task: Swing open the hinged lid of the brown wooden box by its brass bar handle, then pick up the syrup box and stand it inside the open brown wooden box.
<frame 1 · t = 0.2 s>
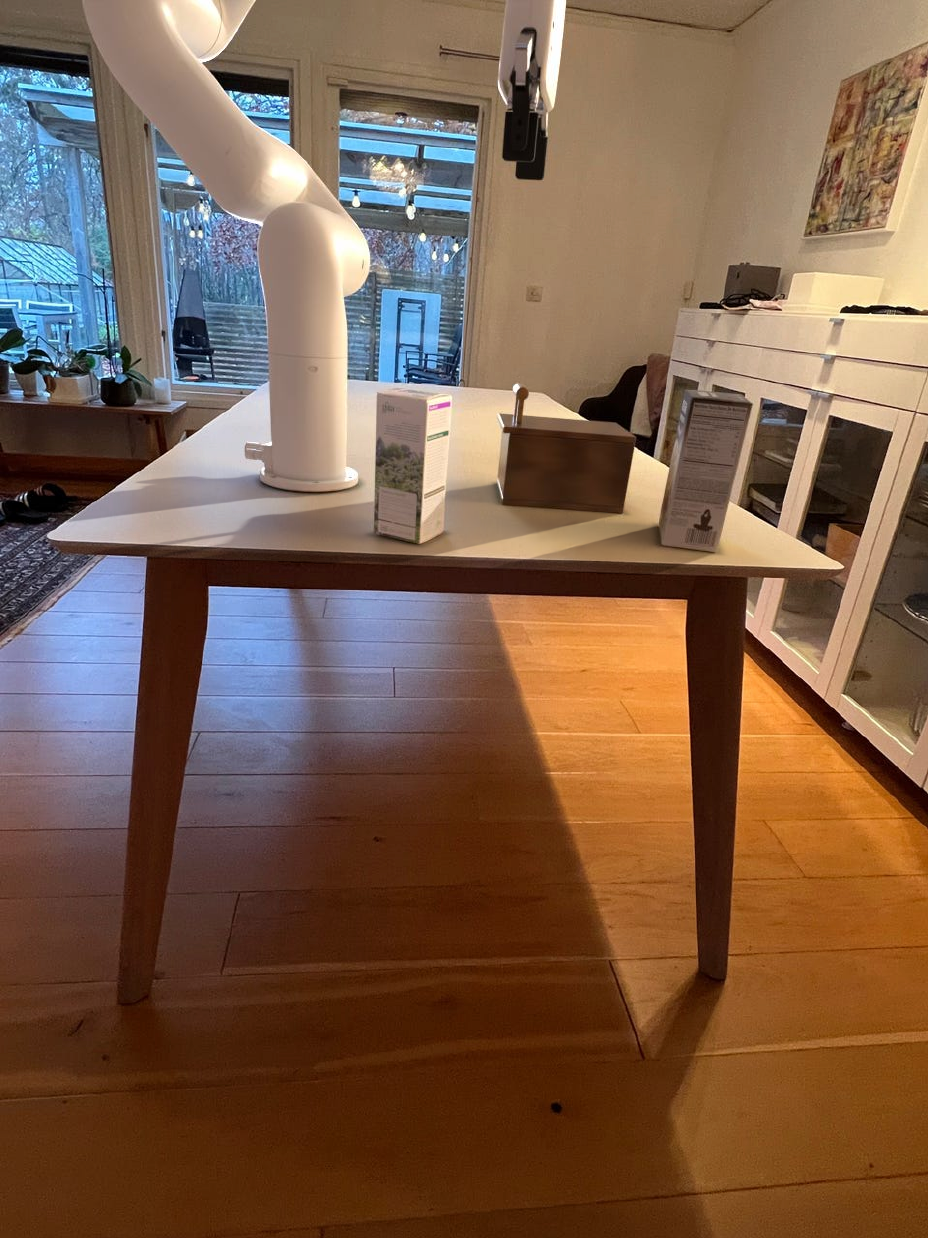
hand: (523, 170, 73), 36 cm above the table, tool pointing down, fingers open, 9 cm apart
lid: (565, 409, 89), point 11 cm above the table, hinge at 0.0°
coffee box: (685, 539, 81), on the table
syrup box: (408, 535, 74), on the table
brown wooden box: (556, 497, 94), on the table
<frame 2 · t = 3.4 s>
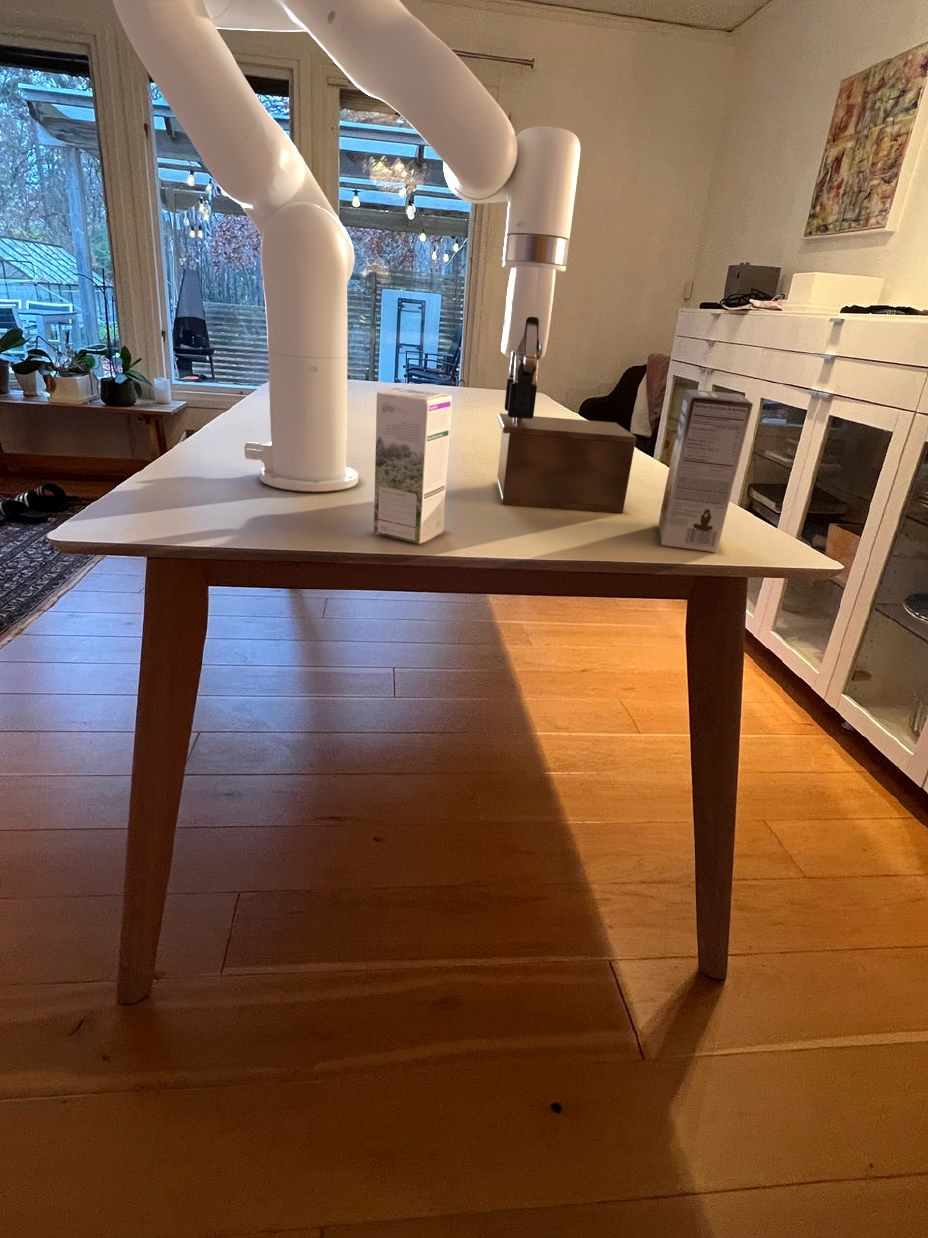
hand: (518, 412, 89), 11 cm above the table, tool pointing down, fingers closed on lid, 5 cm apart
lid: (565, 409, 89), point 11 cm above the table, hinge at 0.0°, touching gripper
everything else where it was.
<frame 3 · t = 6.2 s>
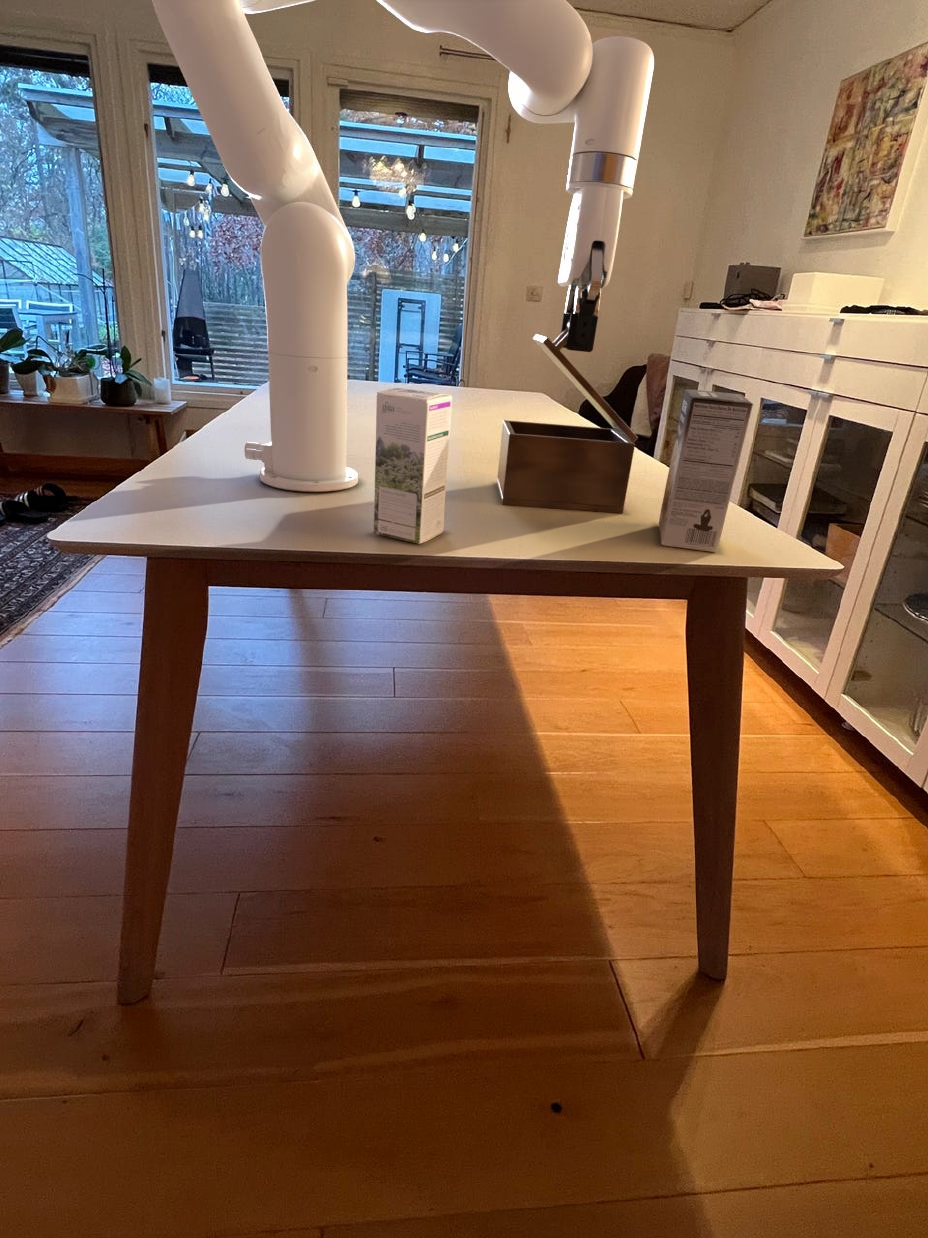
hand: (575, 347, 86), 19 cm above the table, tool pointing down, fingers closed on lid, 5 cm apart
lid: (596, 373, 87), point 16 cm above the table, hinge at 39.8°, touching gripper
everything else where it was.
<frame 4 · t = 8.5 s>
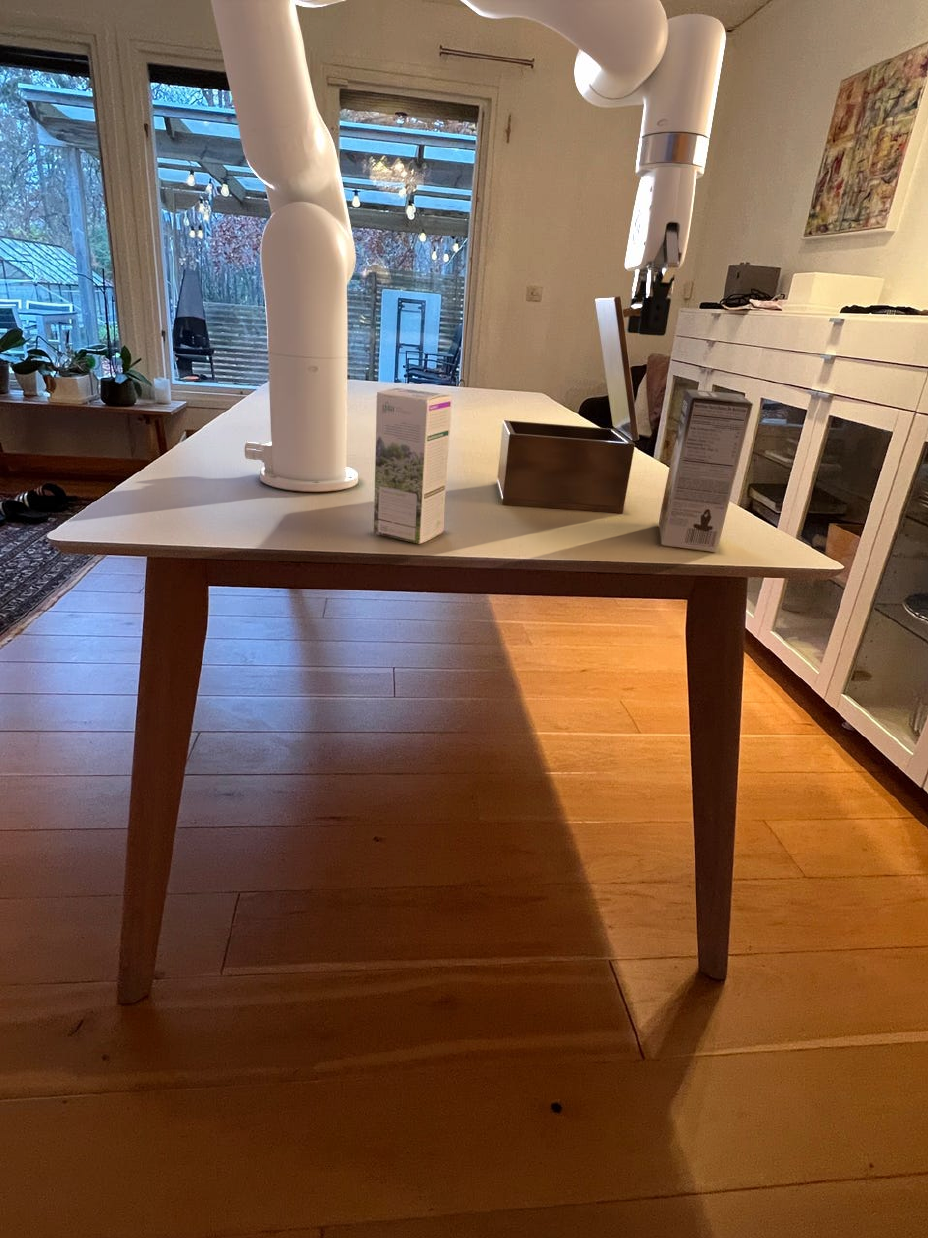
hand: (645, 332, 85), 21 cm above the table, tool pointing down, fingers closed on lid, 5 cm apart
lid: (633, 363, 87), point 18 cm above the table, hinge at 72.3°, touching gripper
everything else where it was.
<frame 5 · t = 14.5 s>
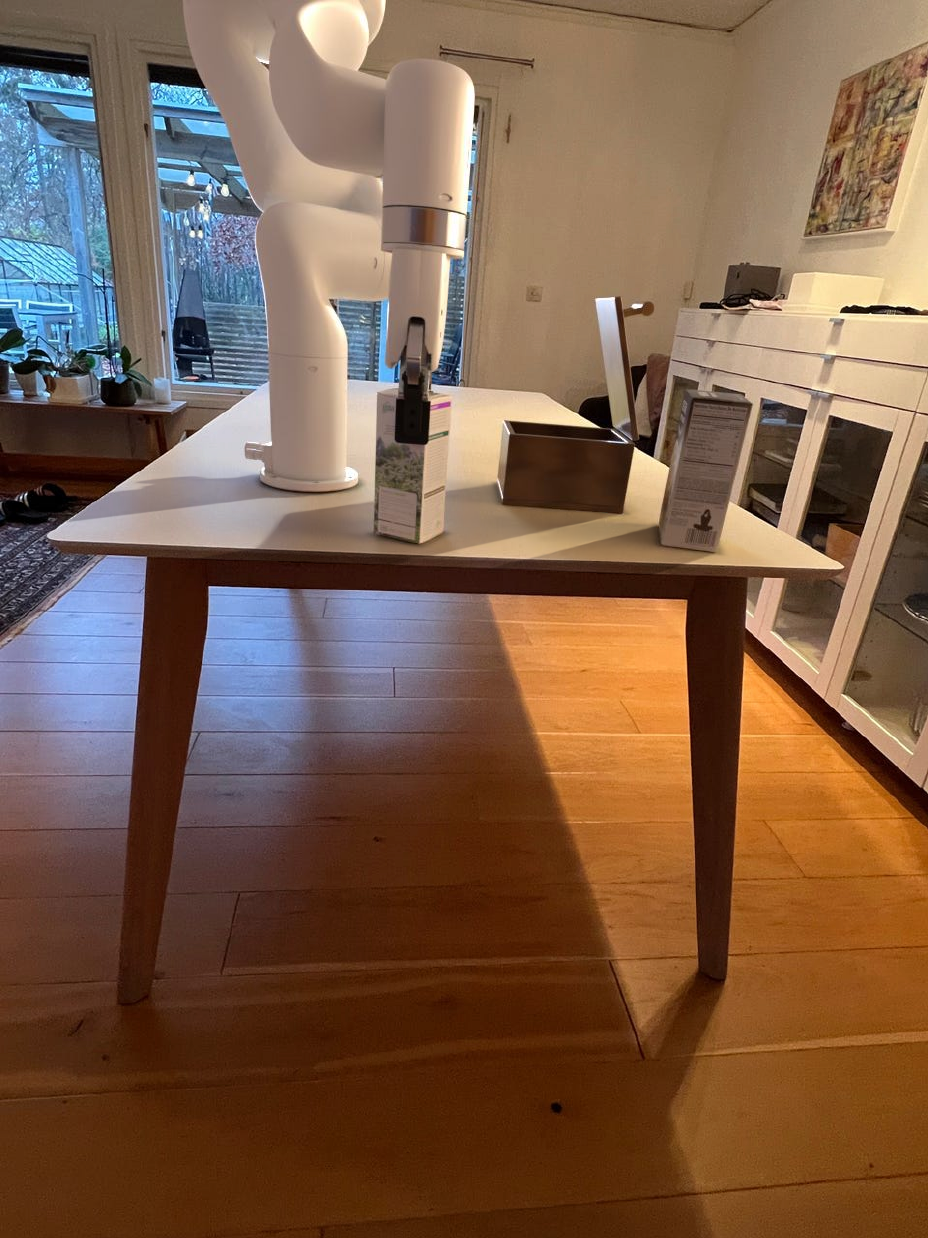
hand: (413, 434, 69), 10 cm above the table, tool pointing down, fingers closed on syrup box, 7 cm apart
lid: (634, 363, 87), point 18 cm above the table, hinge at 72.5°
syrup box: (408, 535, 74), on the table, touching gripper
everything else where it was.
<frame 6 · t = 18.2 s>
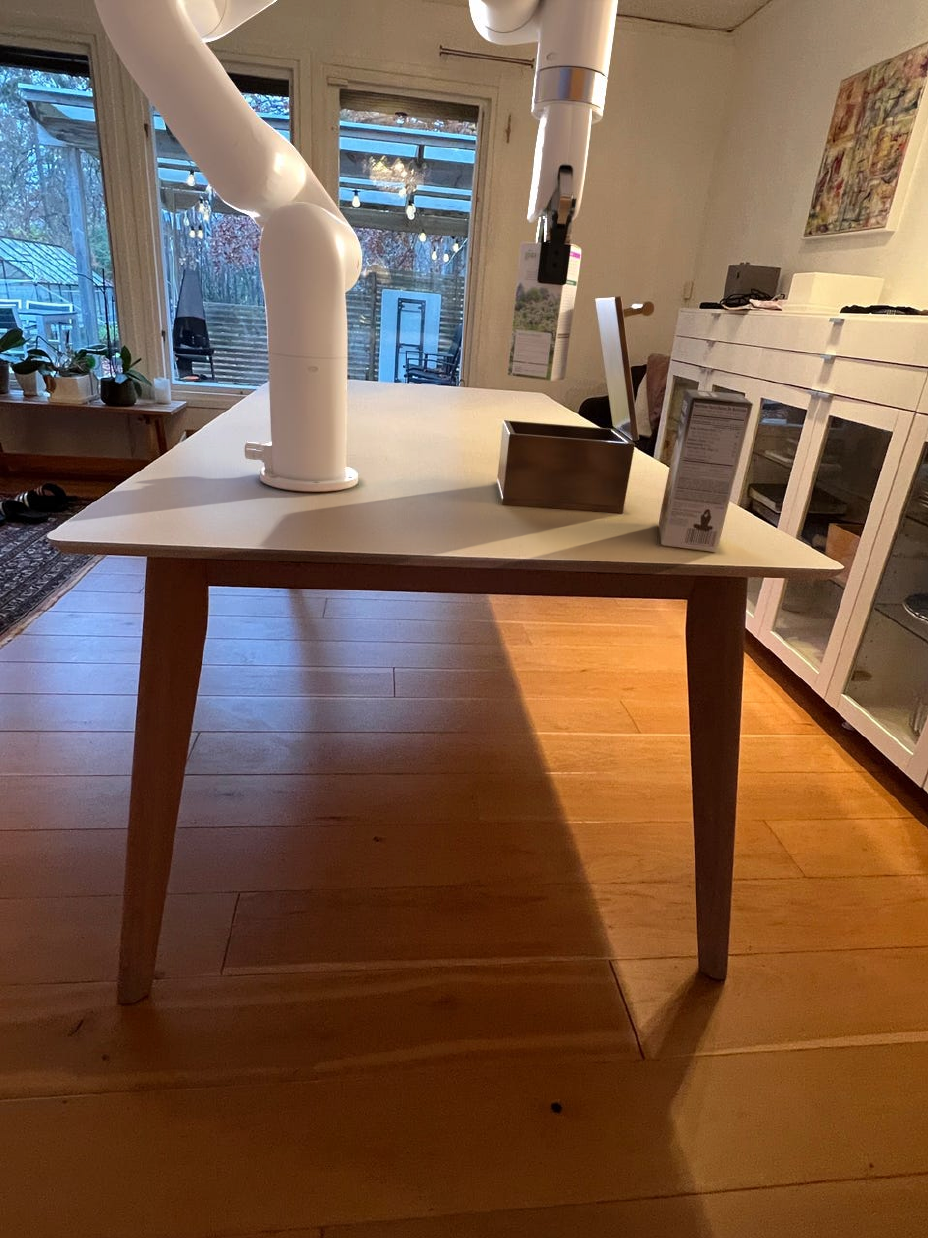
hand: (547, 284, 80), 26 cm above the table, tool pointing down, fingers closed on syrup box, 7 cm apart
syrup box: (536, 379, 84), point 15 cm above the table, touching gripper
everything else where it was.
when the fingers open (11 cm above the table, at t = 22.3 s): syrup box stays where it is, resting on brown wooden box.
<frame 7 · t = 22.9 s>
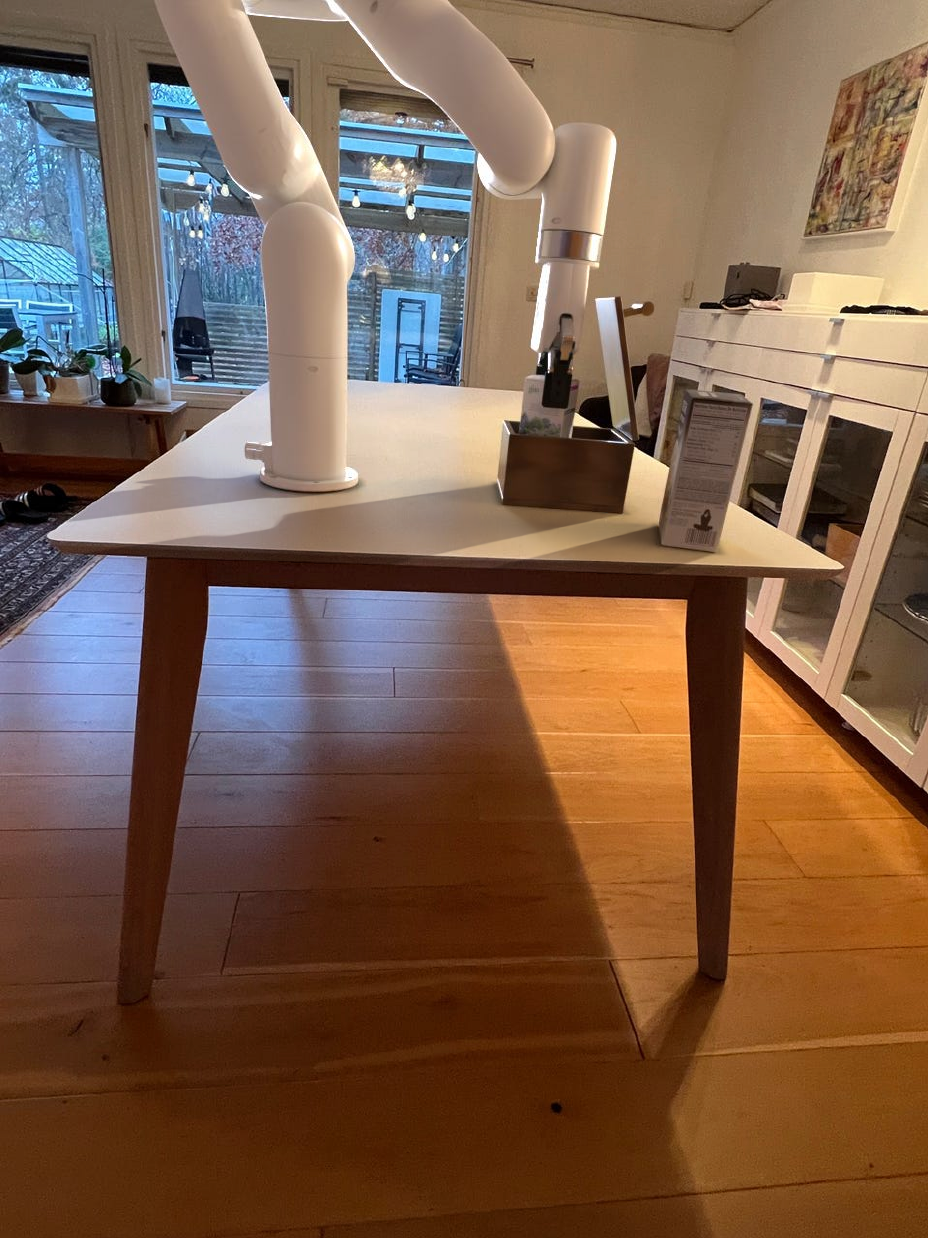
hand: (549, 402, 89), 12 cm above the table, tool pointing down, fingers open, 9 cm apart
syrup box: (538, 491, 93), point 1 cm above the table, touching brown wooden box
everything else where it was.
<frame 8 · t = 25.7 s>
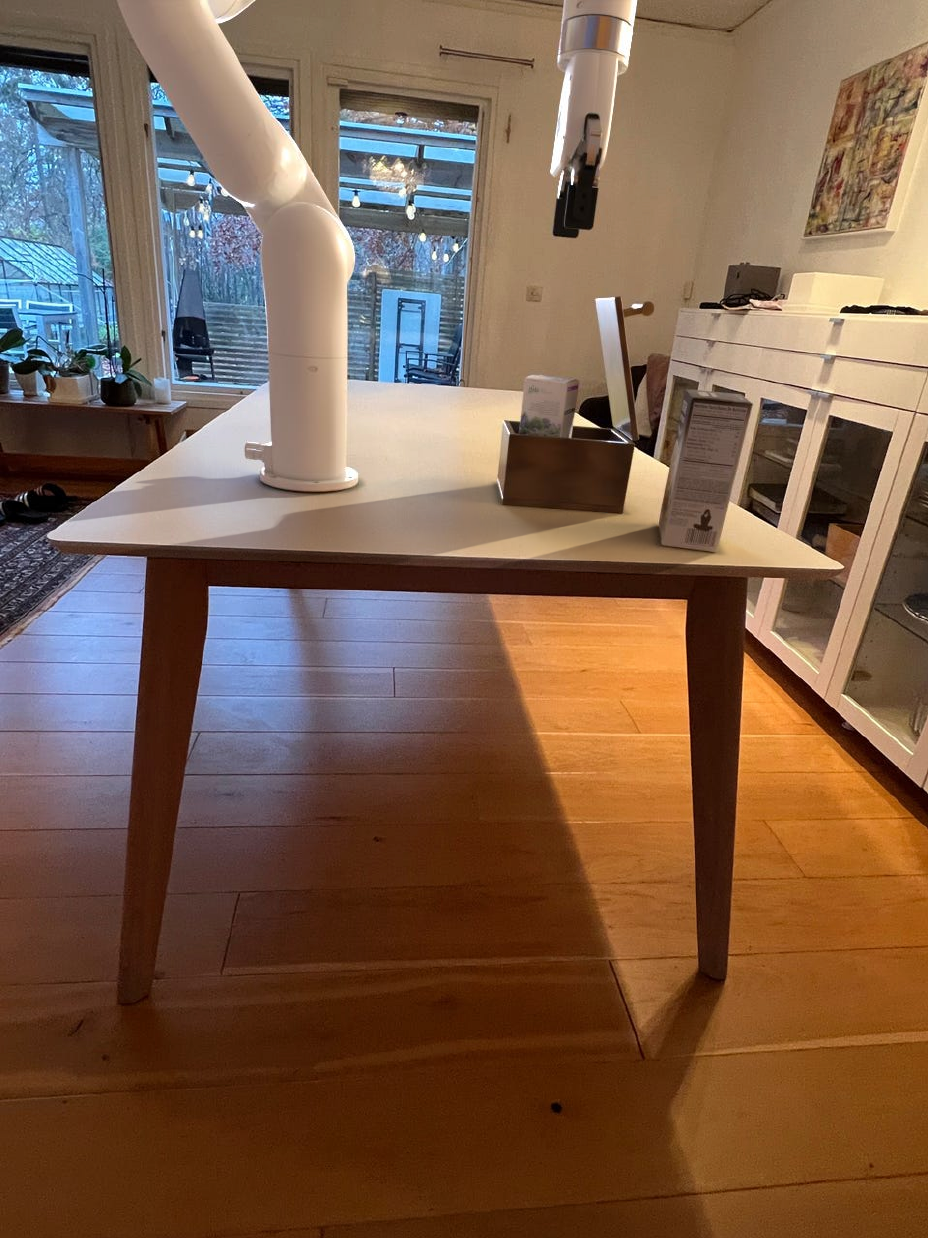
hand: (571, 232, 81), 31 cm above the table, tool pointing down, fingers open, 9 cm apart
nothing on the table moved.
at the end: lid at +72° (first picture: +0°); syrup box inside the target area in the brown wooden box (1.6 cm from its centre), point 0.6 cm above the brown wooden box's base; syrup box tilted 0° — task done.
